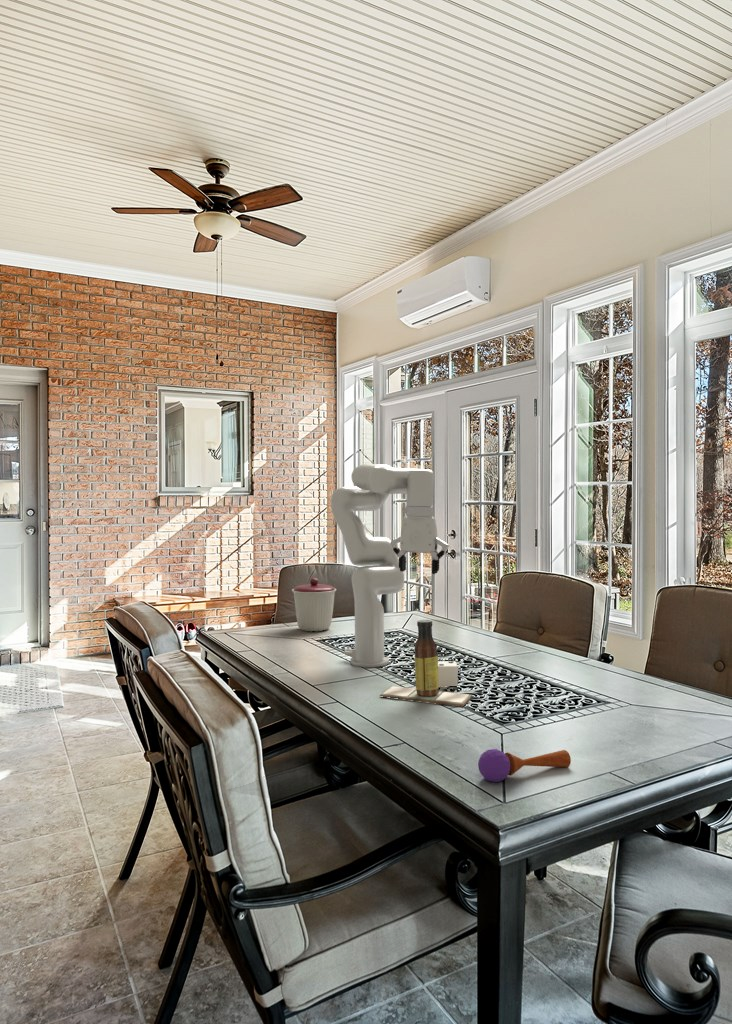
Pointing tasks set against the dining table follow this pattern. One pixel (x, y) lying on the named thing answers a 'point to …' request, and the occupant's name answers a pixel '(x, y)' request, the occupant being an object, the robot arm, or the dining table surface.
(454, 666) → the die
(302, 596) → the canister
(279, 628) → the dining table surface
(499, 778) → the kendama
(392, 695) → the board
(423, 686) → the sauce bottle
